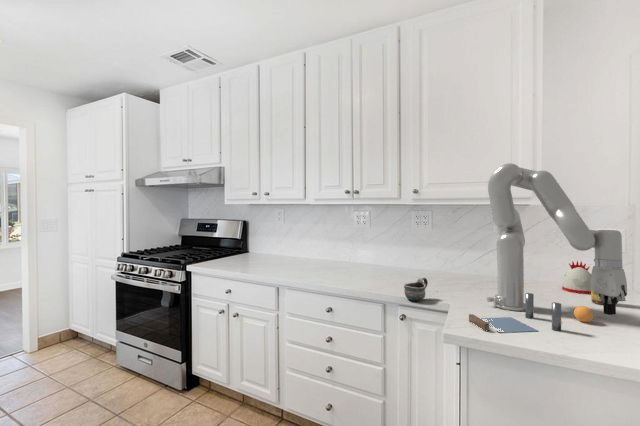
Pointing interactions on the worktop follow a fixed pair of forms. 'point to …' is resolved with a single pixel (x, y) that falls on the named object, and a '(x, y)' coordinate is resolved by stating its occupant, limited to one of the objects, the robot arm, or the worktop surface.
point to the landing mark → (509, 324)
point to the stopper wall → (478, 322)
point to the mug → (416, 289)
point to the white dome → (577, 279)
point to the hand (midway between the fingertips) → (609, 313)
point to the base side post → (529, 305)
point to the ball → (583, 314)
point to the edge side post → (556, 316)
